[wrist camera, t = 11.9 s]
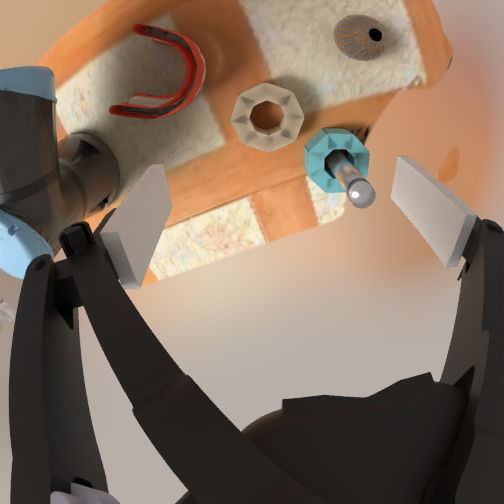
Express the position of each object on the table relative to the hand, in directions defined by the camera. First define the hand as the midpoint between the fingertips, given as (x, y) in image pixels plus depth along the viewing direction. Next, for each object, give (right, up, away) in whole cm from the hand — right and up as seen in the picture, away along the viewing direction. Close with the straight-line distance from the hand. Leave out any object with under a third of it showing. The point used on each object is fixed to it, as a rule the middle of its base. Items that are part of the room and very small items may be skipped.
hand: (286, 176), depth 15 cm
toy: (-13, +21, +18) cm, 31 cm away
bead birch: (0, +16, +22) cm, 27 cm away
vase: (+12, +26, +15) cm, 32 cm away
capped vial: (+11, +11, +26) cm, 30 cm away
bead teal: (+11, +11, +26) cm, 30 cm away
